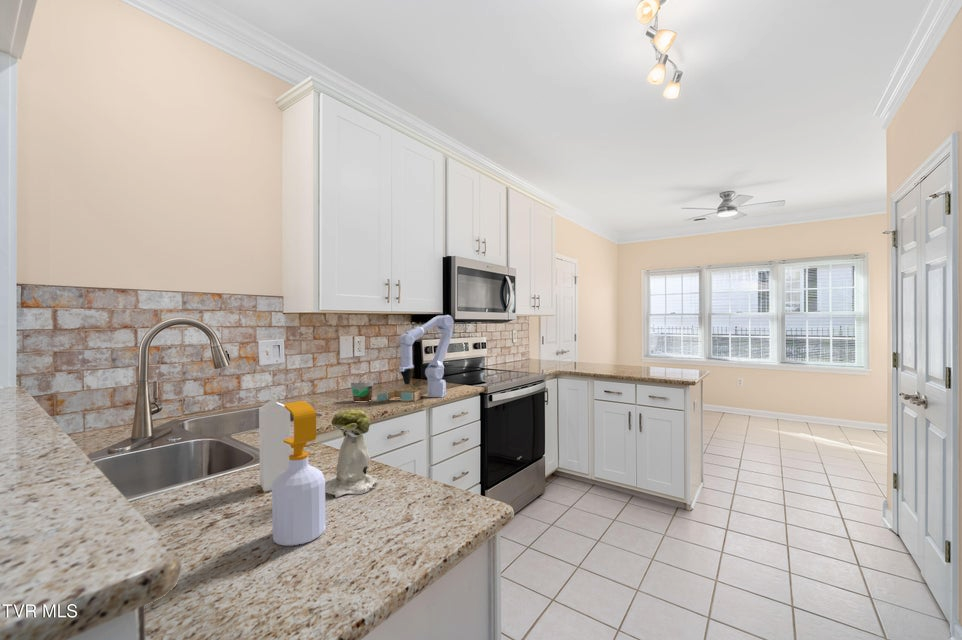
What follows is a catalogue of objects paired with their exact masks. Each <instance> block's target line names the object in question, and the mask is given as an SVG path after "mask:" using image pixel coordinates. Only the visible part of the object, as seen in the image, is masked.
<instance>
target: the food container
mask: <svg viewBox="0 0 962 640" xmlns="http://www.w3.org/2000/svg"><path fill="white" fill-rule="evenodd" d="M373 386H374V382H373V381H367V382H354V380H353V381H351V382H350V387H351V389H352V391H351V392H352V399H353V400H354V401H369V400H371V401H372V396H373V395H372V394H373ZM353 400H352V401H353Z"/></svg>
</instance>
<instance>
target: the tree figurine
mask: <svg viewBox="0 0 962 640" xmlns="http://www.w3.org/2000/svg"><path fill="white" fill-rule="evenodd" d="M331 425H332V426H333V427H334V428H336V430H339V431H341V433H342V436H343V441H342V443H341V445H340V449H339V453H338V459H337V465H336V471H337V472H336V474H335V475H333V476H331V478H325V494H326V493H327V494H330V495H334V496H335V498H339V497H341V496H343V495H345V494H352V495H356V494H357V495H364V494H365V493H368V492H369V491H370V489H372V488H373V486H374V488H376V485H375V484H378V483H379V478H377V477H378V476H377V474H371V475H370V474H368V473H367V469H368V466H369V465H370V463H371V461H372V460H371V458H370V453H369V452H370V451H371V448H368V446H367V443H366V441H365V438H364V434H367V433H368V432H369V430H370V428H369V427H371V419H370V418H369V416H368V415H367V413H366V412H364V411H363V410H360V409H352V408H351V409H345V410H342V411H339V412H337V413H335V414H334V415H333V418H332V419H331ZM363 493H364V494H363Z"/></svg>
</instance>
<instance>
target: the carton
mask: <svg viewBox="0 0 962 640" xmlns="http://www.w3.org/2000/svg"><path fill="white" fill-rule="evenodd" d="M401 393H413V400H401ZM393 397H400V398H398V399H395V400H401V401H400V402H416V401H419V400H420V399H421V390H412V389H411V390H408V389H407V390H405V389H401V390H400V389H398V390H397V389H395V390H391V391H389V392H387V401H388V400H389V399H391V398H393Z"/></svg>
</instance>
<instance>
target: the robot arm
mask: <svg viewBox="0 0 962 640" xmlns="http://www.w3.org/2000/svg"><path fill="white" fill-rule="evenodd" d="M454 323H455V321H454V319H453V316H451V315H449V314H445V315H436V316H435V317H433V318H431V319H430V320H428V321H427V322H426V323H424V324H423V325H421V326H419V325H417V326H415V325H414V326H413V328H412V329H410V330H407V331H406V332H405V333H403V334H401V335H400V336H399V338H398V339H397V341H398V344H399V346H400V365H399V366H398V368H399V370H398V371H399V372H400V374H401V377H402V378H403V383H404V385H410V383H411V379H412V375H413V373H414V368H415V364H413V344H414V343H415V341H417V340H418V339H420V338H422V337H423V336H424V334H425V333H426V332H427V331H429V330H431V329H433V328H434V327H436V328H437V329H438V330H439V331H440V332H441V336H440V339H439V342H438V345H437V347H436V351H435V353H434V356H433V359H432V361H430V362H429V363H428V365H427V367H426V368H425V371H424V375H425V377H426V379H427V394H426V395H425V396H424V397H425V398H444V397H445V396H447V385H446V384H447V382H446V379H443V377H444V374H445V371H444V369H445V366H444V364H443V363H444V360H445V357H446V355H447V354H446V353H447V352H448V347H449V346H450V342H451V340H452V336H453V331H454V329H453V328H454Z"/></svg>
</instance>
